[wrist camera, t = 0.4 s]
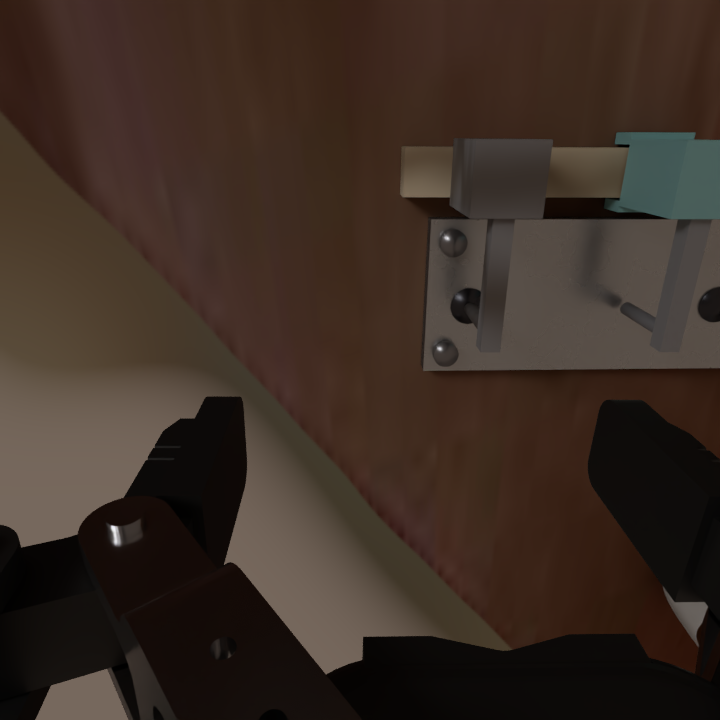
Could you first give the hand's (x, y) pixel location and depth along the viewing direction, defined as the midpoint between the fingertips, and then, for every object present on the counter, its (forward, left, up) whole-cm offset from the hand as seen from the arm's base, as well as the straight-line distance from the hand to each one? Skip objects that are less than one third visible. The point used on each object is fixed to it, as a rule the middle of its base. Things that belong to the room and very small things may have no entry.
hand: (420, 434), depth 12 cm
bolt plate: (+5, +17, -27) cm, 33 cm away
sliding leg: (0, +18, -27) cm, 33 cm away
